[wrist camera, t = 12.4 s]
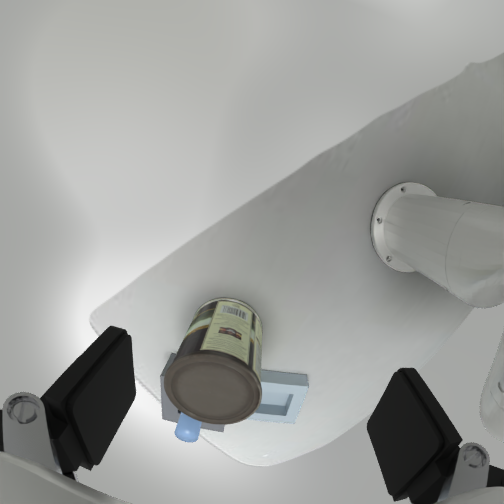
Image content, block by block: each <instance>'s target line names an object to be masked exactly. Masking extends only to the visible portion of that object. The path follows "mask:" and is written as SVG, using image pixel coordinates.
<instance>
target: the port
mask: <svg viewBox="0 0 504 504" xmlns="http://www.w3.org/2000/svg"><path fill="white" fill-rule="evenodd" d="M175 356H176V354H173V353H172V354H171V356H170V358H169V360H168V362H167V364H166V366H165V368H164V370H163V372H162V374H161V375H160V377H161V402H162V418H163V419H164V420H168V421H172V422H176V423H178V420H179V417H180V414H181V411H180V410H178V409H177V408H176V407H175V406H174V405H173V404H172V403H171V401H170V400H169V398H168V396H167V394H166V392H165V389H164V376H165V373H166V371H167V369H168V368H169V366H170V365H171V364H172V362H173V360H174V358H175ZM201 428H202V429H208V430H213V431H218V432H223V431H224V425H218V424H209V423H204V422H202V424H201Z"/></svg>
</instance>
